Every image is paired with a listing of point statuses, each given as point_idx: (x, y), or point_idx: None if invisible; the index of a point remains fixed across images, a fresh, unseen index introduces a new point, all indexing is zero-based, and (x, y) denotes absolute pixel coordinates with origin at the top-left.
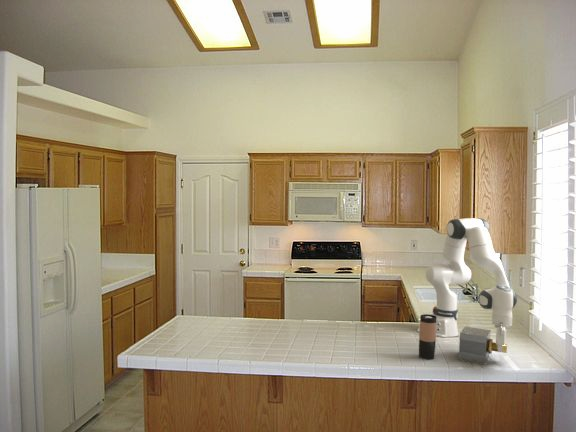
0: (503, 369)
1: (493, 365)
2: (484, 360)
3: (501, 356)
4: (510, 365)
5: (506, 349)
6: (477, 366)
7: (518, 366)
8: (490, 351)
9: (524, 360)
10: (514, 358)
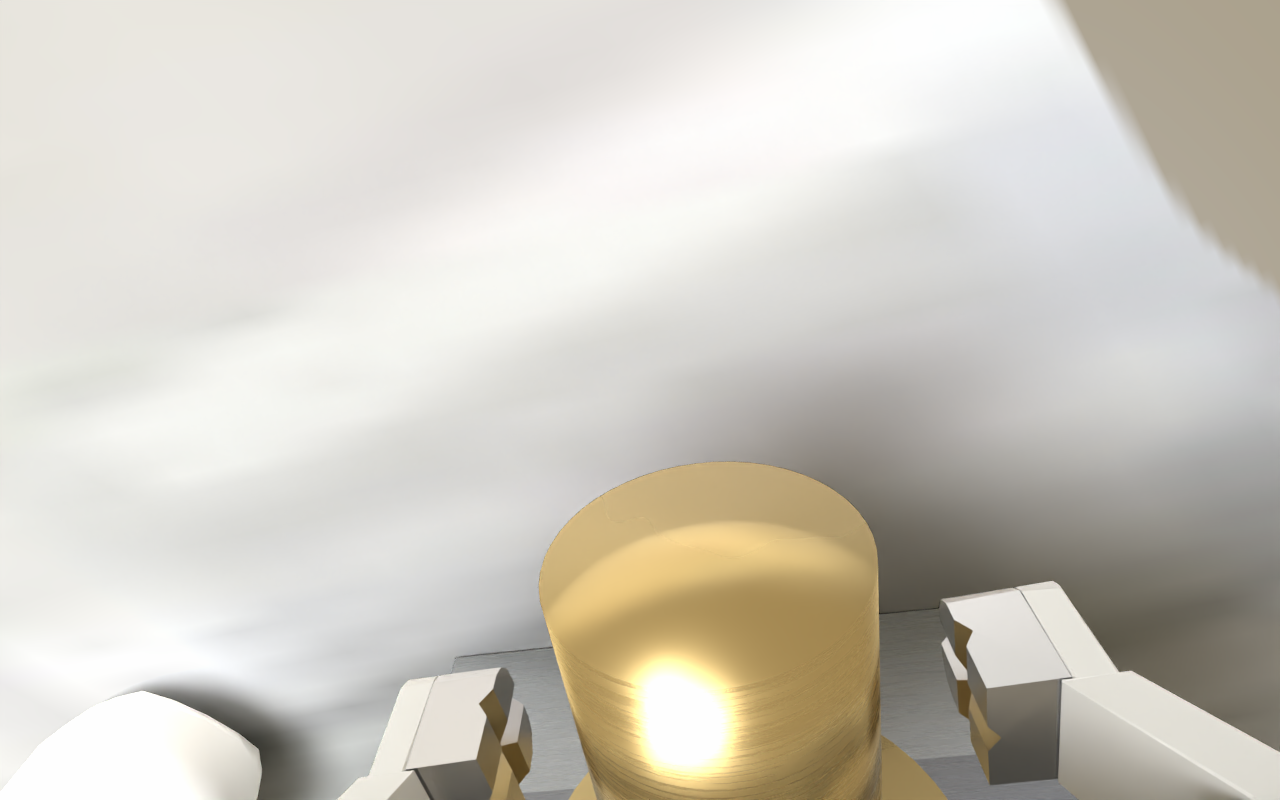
0: (1191, 258)
1: (995, 482)
2: None
3: (252, 508)
4: (764, 205)
5: (757, 539)
6: (1215, 659)
7: (712, 8)
8: (915, 771)
9: (31, 9)
10: (124, 267)
